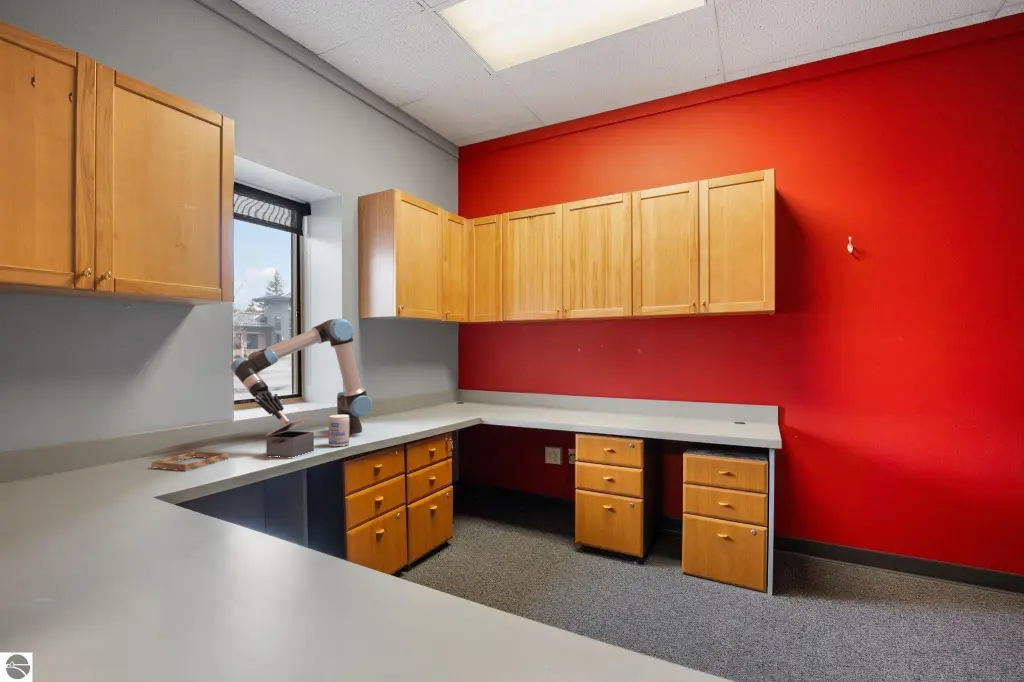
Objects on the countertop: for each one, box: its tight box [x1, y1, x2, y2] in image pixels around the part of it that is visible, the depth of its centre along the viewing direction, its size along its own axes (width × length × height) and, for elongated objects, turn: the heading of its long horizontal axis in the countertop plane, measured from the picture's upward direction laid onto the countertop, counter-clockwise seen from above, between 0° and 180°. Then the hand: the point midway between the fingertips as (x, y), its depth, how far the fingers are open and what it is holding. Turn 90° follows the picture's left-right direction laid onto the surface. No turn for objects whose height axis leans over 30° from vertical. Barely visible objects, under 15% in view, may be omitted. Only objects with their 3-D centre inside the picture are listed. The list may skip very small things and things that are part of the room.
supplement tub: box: [328, 414, 350, 448], centre depth 238 cm, size 10×10×15 cm
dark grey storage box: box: [265, 430, 315, 458], centre depth 220 cm, size 19×14×9 cm
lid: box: [266, 416, 313, 436], centre depth 220 cm, size 14×15×2 cm
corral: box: [150, 450, 229, 472], centre depth 203 cm, size 20×18×2 cm
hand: (286, 423), depth 220 cm, fingers closed
